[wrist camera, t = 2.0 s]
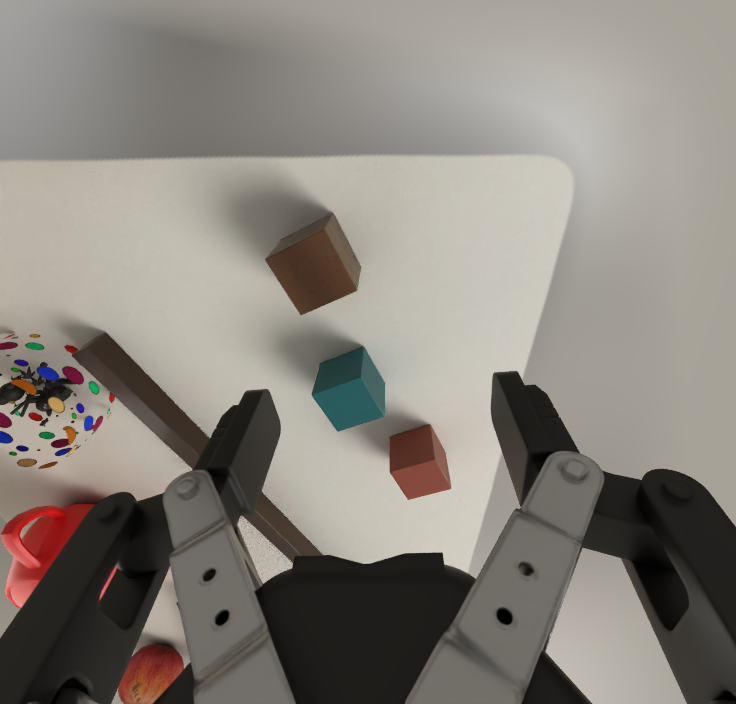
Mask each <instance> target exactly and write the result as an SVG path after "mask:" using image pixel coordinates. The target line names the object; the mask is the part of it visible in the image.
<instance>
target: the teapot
mask: <svg viewBox="0 0 736 704" xmlns="http://www.w3.org/2000/svg"><path fill="white" fill-rule="evenodd" d="M95 505H96V504H75V505H71V506H66V507H62V508H57V507H55V506H43V507H36V508H33V509H30V510H28V511H26V512H23V513H21V514H18V515H17V516H16V517H14V518H13V519H12V520H11V521H9V522H8V523H7V524H6V526H5V527H4V529H3V531H2V533H1V538H2V541H3V545H4V546H5V547H6V548H7V550H8V551H9V552H10V553H11V554H12V555H13V556H14V559H13V562H12V566H11V569H10V572H9V575H8V579H7V583H6V588H5V591H6V596H7V597H8V599H9V600H10V601H11V602H13V604H14V605H15V606H16V607H18V608H20V609H21V608H22V606H23V605H24V603H25V602H26V600H27V599H28V598H29V596H30V595H31V593H32V592H33V590H34V589H35V587H36V586H37V585H38V583H39V582H40V580H41V579H42V577H43V576H44V574H45V573H46V572H47V570H48V569H49V567H50V566H51V564H52V563H53V562H54V560H55V559H56V557H57V556H58V554H59V553H60V551H61V550H62V549H63V547H64V546H65V544H66V543H67V541H68V540H69V538H70V537H71V536H72V534H73V533H74V531H75V530H76V528H77V527H78V525H79V524H80V523H81V521H82V520H83V518H84V517H85V515H86V514H87V513H88V511H89V510H90V509H91V508H92V507H93V506H95ZM39 516H42V517H41V518H39V519H38V520H37V521H36V522H35V523H34V524H33V525H32V526H31V527H30V528H29V529H28V531H27V532H26V534H25V535H24V536H23V538H22V539H21V538H20V533H21V530H22V528H23V527H24V526H25V525H26V524H28V523H29V522H30V521H32V520H34V519H35V518H37V517H39ZM116 570H117V567H116V566H115V568H114V569H113V571H112V573H111V575H110V577H109V579H108V580H107V582H106V584H105V586H104V588H103V590H102V592H101V595H100V599H101V598H102V596H103V594H104V592H105V590H106V588H107V586H108V585H109V583H110V581H111V579H112V577H113V575H114V574H115V572H116ZM100 599H99V601H100Z"/></svg>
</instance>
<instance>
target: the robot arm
mask: <svg viewBox="0 0 736 704" xmlns="http://www.w3.org/2000/svg"><path fill="white" fill-rule="evenodd" d="M491 416H492V422H493V425H494V428H495V431H496V434H497V437H498V440H499V444H500V447H501V450H502V453H503V456H504V458H505V462H506V464H507V468H508V470H509V474H510V477H511V479H512V482H513V485H514V489H515V491H516V495H517V497H518V500H519V504H520V506H522V507H521V508H520V509H515V510H514V511H513V513H512V515H511V516H510V518H509V520H508V522H507V524H506V525H505V527H504V529H503V531H502V533H501V535H500V536H499V538H498V540H497V542H496V544H495V546H494V548H493V550H492V551H491V553H490V555H489V557H488V559H487V560H486V562H485V564H484V566H483V568H482V570H481V572H480V573H479V575H478V577H477V579H475V578H474V577H472V576H471V575H469V574H467V573H466V572H464V571H462V570H460V569H457V568H454V567H452V566H448V565H444V561H443V553H405V554H402V555H398V556H395V557H391V558H388V559H384V560H381V561H378V562H374V563H371V564H362V563H358V562H354V561H350V560H346V559H342V558H339V557H335V556H331V555H319V556H295V558H294V562H293V567H292V569H289V570H287V571H284V572H282V573H280V574H278V575H276V576H274V577H273V578H271V579H270V580H268V581H267V582H266V583H264V584H263V583H262V581H261V579H260V577H259V575H258V573H257V570H256V568H255V565H254V563H253V561H252V558H251V556H250V554H249V551H248V549H247V546H246V544H245V542H244V539H243V537H242V534H241V532H240V530H239V528H238V526H237V524H238V521H239V518H240V516H243V515H253V514H254V511H255V508H256V505H257V503H258V500H259V497H260V494H261V491H262V488H263V485H264V482H265V479H266V476H267V473H268V470H269V467H270V464H271V461H272V458H273V455H274V452H275V449H276V446H277V443H278V440H279V437H280V431H281V426H280V420H279V417H278V414H277V411H276V408H275V405H274V402H273V400H272V397H271V394H270V392H269V390H267V389H262V390H249V391H246V392H245V393H244V395H243V397H242V399H241V401H240V403H239V405H233V406H232V407H231V408H230V409H229V410H228V411H227V412H226V413H225V414H223V415H222V417H221V419H220V421H219V423H218V424H217V426H216V427H217V428H216V429H215V430H214V432H213V434H212V435H211V436H212V437H211V438H210V439H209V441H208V443H207V445H206V446H205V448H204V450H203V452H202V454H201V455H200V457H199V459H198V461H197V463H196V465H195V466H194V468H193V470H192V471H189V472H186V473H184V474H182V475H180V476H179V477H177V478H176V479H175V480H174V481H172V482H171V483H170V484H169V486H168V487H167V488H166V490H165V492H164V493H163V494H160V495H157V496H153V497H150V498H147V499H144V500H141V501H138V502H137V500H136V499H135V498H134V496H133V495H132V494H130V493H127V492H120V493H116V494H113V495H110V496H108V497H106V498H104V499H103V500H101V501H100V502H98V503H97V504H96V505H95V506H93V507H92V508H91V509H90V510H89V511H88V513H87V514H86V515H85V517H84V518H83V520H82V521H81V523H80V524H79V525H78V527H77V528H76V530H75V531H74V533H73V534H72V536H71V537H70V538H69V540H68V541H67V543H66V544H65V546H64V547H63V549H62V550H61V551H60V553H59V554H58V556H57V557H56V559H55V560H54V562H53V563H52V564H51V566H50V567H49V569H48V570H47V572H46V573H45V574H44V576H43V577H42V579H41V580H40V582H39V583H38V585H37V586H36V587H35V589H34V590H33V592H32V593H31V595H30V596H29V598H28V599H27V600H26V602H25V603H24V605H23V606H22V608H21V609H20V611H19V612H18V613H17V615H16V616H15V618H14V619H13V621H12V622H11V624H10V625H9V626H8V628H7V629H6V631H5V632H4V634H3V635H2V637H1V638H0V704H111V703H112V700H113V698H114V696H115V693H116V691H117V688H118V686H119V684H120V682H121V679H122V677H123V675H124V672H125V670H126V668H127V665H128V663H129V661H130V658H131V656H132V654H133V651H134V649H135V647H136V644H137V642H138V640H139V637H140V635H141V633H142V630H143V628H144V626H145V623H146V621H147V618H148V616H149V614H150V611H151V609H152V607H153V604H154V602H155V600H156V597H157V595H158V593H159V590H160V588H161V586H162V583H163V581H164V579H165V576H166V574H167V572H168V569H169V567H170V566H171V571H172V576H173V581H174V585H175V590H176V595H177V599H178V604H179V609H180V614H181V618H182V623H183V628H184V632H185V637H186V642H187V647H188V651H189V656H190V661H191V662H190V663H189V664H188V665H187V666H186V668H185V669H184V670H183V671H182V672H181V673H180V674H179V675H178V676H177V677H176V679H175V680H174V681H173V682H172V683H171V684H170V685H169V686H168V687H167V688H166V689H165V691H164V692H163V693H162V694H161V695H160V696H159V697H158V698H157V699H156V700H155V702H154V703H153V704H592V703H591V702H590V701H589V700H588V699H587V697H586V696H585V695H584V694H583V693H582V692H581V691H580V690H579V689H578V688H577V687H576V685H575V684H574V683H573V682H572V681H571V680H570V679H569V678H568V677H567V675H566V674H565V673H564V672H563V671H562V670H561V669H560V668H559V667H558V666H557V664H555V662H554V661H553V660H552V659H551V658H550V657H549V656H548V654H547V653H546V649H547V646H548V643H549V640H550V638H551V635H552V632H553V629H554V627H555V623H556V621H557V618H558V615H559V612H560V609H561V606H562V603H563V601H564V598H565V595H566V592H567V589H568V586H569V584H570V581H571V578H572V576H573V573H574V570H575V567H576V565H577V562H578V559H579V556H580V553H581V551H582V548H586V549H590V550H594V551H598V552H601V553H605V554H608V555H612V556H616V557H619V558H621V559H622V562H623V564H624V566H625V568H626V570H627V573H628V575H629V577H630V579H631V581H632V584H633V586H634V588H635V590H636V592H637V595H638V597H639V599H640V601H641V603H642V605H643V608H644V610H645V612H646V614H647V617H648V619H649V621H650V623H651V625H652V628H653V630H654V632H655V634H656V636H657V638H658V640H659V643H660V645H661V647H662V650H663V652H664V654H665V656H666V658H667V661H668V663H669V665H670V667H671V669H672V671H673V674H674V676H675V678H676V680H677V683H678V685H679V687H680V689H681V691H682V693H683V696H684V698H685V700H686V702H687V704H736V527H735V525H734V524H733V523H732V522H731V520H730V519H729V518H728V516H727V515H726V514H725V512H724V511H723V510H722V508H721V507H720V506H719V505H718V503H717V502H716V501H715V499H714V498H713V497H712V495H711V494H710V493H709V491H708V490H707V489H706V488H705V487H704V486H703V485H702V484H700V483H699V482H698V481H696V480H695V479H693V478H691V477H689V476H687V475H685V474H682V473H680V472H677V471H673V470H668V469H655V470H651V471H649V472H647V473H646V474H645V475H644V476H643V478H642V480H639V479H634V478H629V477H624V476H619V475H614V474H611V473H608V472H605V471H602V470H601V468H600V467H599V466H598V464H596V463H595V462H594V461H593V460H592V459H590V458H588V457H587V456H584V455H582V454H580V452H579V451H578V449H577V447H576V445H575V443H574V442H573V440H572V438H571V436H570V435H569V433H568V431H567V429H566V427H565V426H564V424H563V422H562V420H561V418H559V415H558V413H557V411H556V409H555V408H554V407H553V404H552V402H551V400H550V399H549V397H548V395H547V394H546V393H545V392H544V391H542V390H541V389H540V388H538V387H537V386H536V385H524V383H523V381H522V379H521V377H520V375H519V373H518V372H517V371H509V372H496V373H494V374H493V380H492V396H491ZM115 566H116V567H117V570H116V572H115V574H114V575H113V577H112V579H111V581H110V583H109V585H108V586H107V588H106V590H105V592H104V594H103V596H102V598H101V599H100V595H101V592H102V590H103V588H104V586H105V584H106V582H107V580H108V579H109V577H110V575H111V573H112V571H113V569H114V568H115ZM99 599H100V601H99Z"/></svg>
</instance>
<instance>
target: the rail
mask: <svg viewBox="0 0 736 704" xmlns="http://www.w3.org/2000/svg"><path fill="white" fill-rule="evenodd" d="M72 357H73V358H75V359H76V360H77V361H78V362H79V363H80V364H81V365H82V366H83V367H84V368H85V369H86V370H87V371H88V372H90V373H91V374H92V375H93V376H94V377H95V378H96V379H97V380H98V381H99V382H100V383H101V384H102V385H103V386H104V387H106V388H107V389H108V390H109V391H110V392H111V393H112V394H113V395H114V396H115V397H116V398H117V399H118V400H119V401H121V402H122V403H123V404H124V405H125V406H126V407H127V408H128V409H129V410H130V411H131V412H132V413H133V414H134V415H136V416H137V417H138V418H139V419H140V420H141V421H142V422H143V423H144V424H145V425H146V426H147V427H148V428H149V429H150V430H152V431H153V432H154V433H155V434H156V435H157V436H158V437H159V438H160V439H161V440H162V441H163V442H164V443H165V444H167V445H168V446H169V447H170V448H171V449H172V450H173V451H174V452H175V453H176V454H177V455H178V456H179V457H180V458H182V459H183V460H184V461H185V462H186V463H187V464H188V465H189V466H190V467H191V468H192V469H193V468H194V466H195V465H196V463H197V461H198V459H199V457H200V455H201V454H202V452H203V450H204V448H205V446H206V445H207V443H208V441H209V438H208V437H207V436H206V435H205V434H204V433H203V432H202V431H201V430H200V428H199V427H198V426H197V425H196V424H195V423H194V422H193V421H192V420H191V419H190V418H189V417H188V416H187V415H186V414H185V413H184V412H183V411H182V410H181V409H180V408H179V407H178V406H177V405H176V404H175V403H174V402H173V401H172V400H171V399H170V398H169V397H168V396H167V395H166V394H165V393H164V392H163V390H162V389H161V388H160V387H159V386H158V385H157V384H156V383H155V382H154V381H153V380H152V379H151V378H150V377H149V376H148V375H147V374H146V373H145V372H144V371H143V370H142V369H141V368H140V367H139V366H138V365H137V364H136V363H135V362H134V361H133V360H132V359H131V358H130V357H129V356H128V355H127V354H126V353H125V351H124V350H123V349H122V348H121V347H120V346H119V345H118V344H117V343H116V342H115V341H114V340H113V339H112V338H111V337H110V336H109V335H108V334H107V333H104V334H102V335H100V336H98V337H96V338H94V339H92V340H90V341H89V342H88V343H86V344H85V345H84V346H83V347H81V348H80V349H79V350H77V351H76V352H75V353H73V354H72ZM243 516H244V517H245V518H246V519H247V520H248V521H249V522H250V523H251V524H252V525H253V526H254V527H255V528H256V529H257V530H259V531H260V532H261V533H262V534H263V535H264V536H265V537H266V538H267V539H268V540H269V541H270V542H271V543H272V544H273V545H275V546H276V547H277V548H278V549H279V550H280V551H281V552H282V553H283V554H284V555H285V556H286V557H287V558H288V559H290V560H291V561H292V562H294V558H295V556H319V555H322V554H321V553H320V552H319V551H318V550H317V549H316V548H315V547H314V546H313V544H312V543H311V542H310V541H309V540H308V539H307V538H306V537H305V536H304V535H303V534H302V533H301V532H300V531H299V530H298V529H297V528H296V527H295V526H294V525H293V524H292V523H291V522H290V521H289V520H288V519H287V518H286V517H285V516H284V515H283V514H282V513H281V512H280V511H279V510H278V509H277V508H276V506H275V505H274V504H273V503H272V502H271V501H270V500H269V499H268V498H267V497H266V496H265V495H264V494H263V493H262V492H261V494H260V497H259V500H258V503H257V505H256V508H255V511H254V514H253V515H243Z"/></svg>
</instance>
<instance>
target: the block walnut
mask: <svg viewBox="0 0 736 704" xmlns="http://www.w3.org/2000/svg"><path fill="white" fill-rule="evenodd" d="M265 260H266V262H267V264H268V265H269V267H270V268H271V270H272V271H273V273H274V274H275V276H276V278H277V279H278V281H279V282H280V284H281V285H282V287H283V288H284V290H285V292H286V293H287V295H288V296H289V298H290V299H291V301H292V302H293V304H294V306H295V307H296V309H297V310H298V312H299V313H300V315H303V314H305V313H307V312H310V311H312V310H314V309H317V308H319V307H321V306H323V305H326V304H328V303H330V302H333V301H335V300H337V299H339V298H342V297H344V296H346V295H349V294H351V293H353V292H355V291H357V288H358V283H359V277H360V271H361V266H360V264H359V262H358V260H357V258H356V256H355V254H354V252H353V250H352V248H351V246H350V244H349V242H348V240H347V238H346V236H345V234H344V233H343V231H342V229H341V227H340V225H339V223H338V221H337V219H336V217H335V215H334V214H333V213H332V214H330V215H328V216H326V217H324V218H322V219H320V220H318V221H316V222H314V223H312V224H311V225H309V226H307V227H305V228H303V229H301V230H299V231H297V232H295V233H293V234H291V235H289V236H287V237H285V238H283V239H282V240H281V241H280V242H279V243H278V244H277V246H276V247H275V248H274V249H273V250H272V252H271V253H270V254H269V255H268V256H267V258H266V259H265Z"/></svg>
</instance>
